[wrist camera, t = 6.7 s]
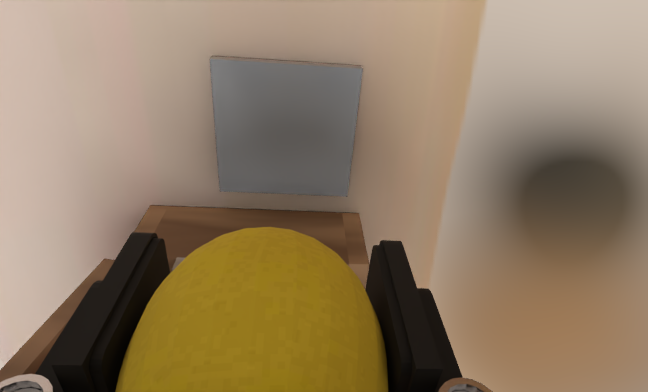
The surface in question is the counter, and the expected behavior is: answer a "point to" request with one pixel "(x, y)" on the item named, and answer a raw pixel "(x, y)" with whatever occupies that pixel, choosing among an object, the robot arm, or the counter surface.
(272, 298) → the lemon
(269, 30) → the counter surface
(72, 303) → the case
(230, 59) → the coaster
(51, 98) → the counter surface
